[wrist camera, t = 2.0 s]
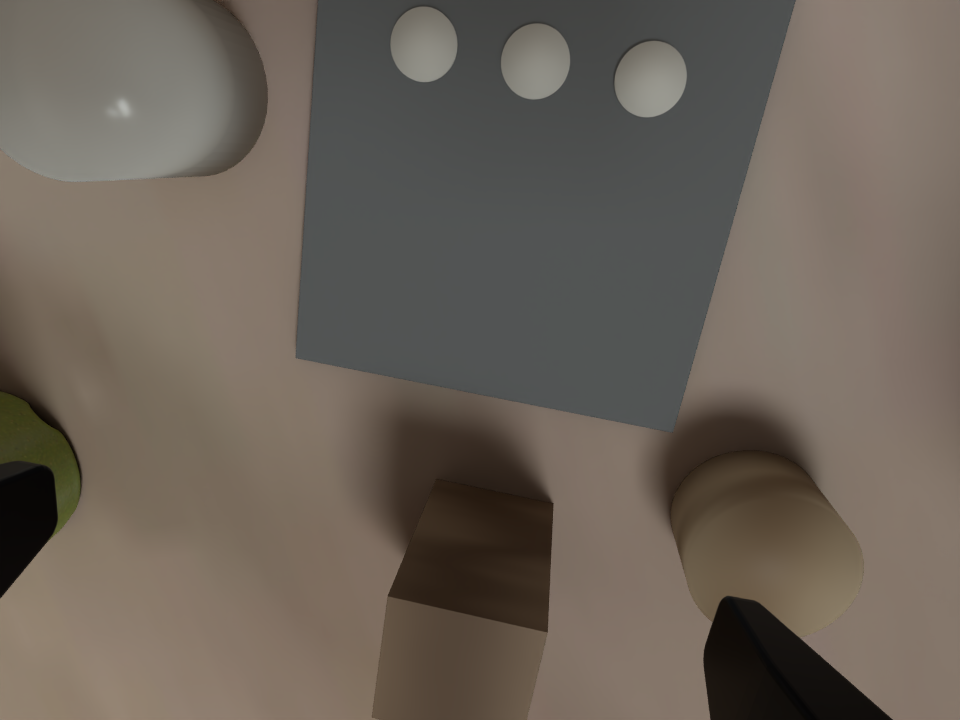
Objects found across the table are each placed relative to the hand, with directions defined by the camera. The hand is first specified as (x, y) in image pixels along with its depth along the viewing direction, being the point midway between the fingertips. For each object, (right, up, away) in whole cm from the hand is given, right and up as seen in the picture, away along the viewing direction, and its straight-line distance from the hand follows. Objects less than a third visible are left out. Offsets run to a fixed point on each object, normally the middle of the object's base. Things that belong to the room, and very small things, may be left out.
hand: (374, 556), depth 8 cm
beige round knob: (+10, -2, +12) cm, 16 cm away
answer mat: (+2, +7, +10) cm, 12 cm away
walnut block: (+2, -4, +13) cm, 14 cm away
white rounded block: (-7, +11, +10) cm, 16 cm away
